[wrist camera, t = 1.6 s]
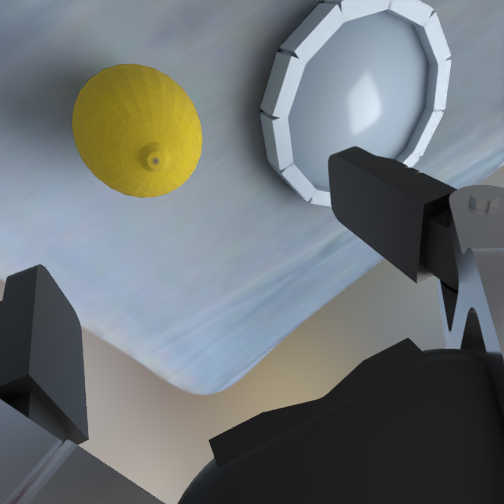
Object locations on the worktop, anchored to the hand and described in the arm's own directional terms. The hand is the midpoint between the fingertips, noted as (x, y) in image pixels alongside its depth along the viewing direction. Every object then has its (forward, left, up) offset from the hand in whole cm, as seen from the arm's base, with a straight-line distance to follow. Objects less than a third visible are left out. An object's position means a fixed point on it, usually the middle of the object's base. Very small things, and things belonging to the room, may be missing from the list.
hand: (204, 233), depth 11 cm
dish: (+4, +14, -14) cm, 20 cm away
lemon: (0, 0, -14) cm, 14 cm away
